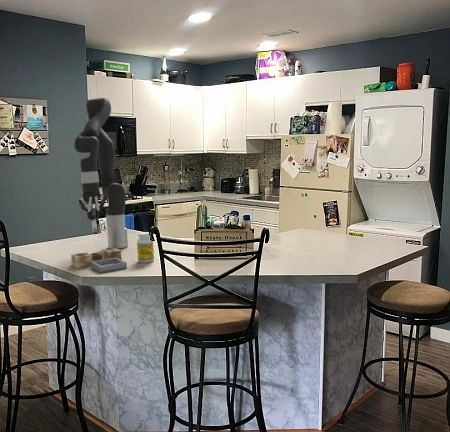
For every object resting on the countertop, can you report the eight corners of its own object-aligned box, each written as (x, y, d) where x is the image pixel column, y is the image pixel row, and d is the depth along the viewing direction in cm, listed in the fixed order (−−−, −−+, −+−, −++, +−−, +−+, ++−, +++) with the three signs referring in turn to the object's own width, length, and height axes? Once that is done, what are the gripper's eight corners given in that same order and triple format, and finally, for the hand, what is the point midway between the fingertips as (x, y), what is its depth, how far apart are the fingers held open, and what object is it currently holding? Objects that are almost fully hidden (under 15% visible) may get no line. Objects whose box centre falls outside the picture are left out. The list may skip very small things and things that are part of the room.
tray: (116, 263, 225) (116, 257, 225) (126, 268, 216) (126, 262, 215) (91, 267, 219) (91, 261, 219) (100, 272, 210) (100, 266, 209)
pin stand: (99, 258, 235) (98, 252, 234) (102, 260, 231) (102, 254, 230) (88, 260, 232) (88, 254, 232) (92, 262, 228) (91, 256, 228)
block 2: (116, 258, 234) (115, 248, 233) (121, 261, 229) (120, 250, 228) (104, 260, 231) (103, 250, 230) (109, 263, 226) (108, 252, 225)
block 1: (87, 262, 228) (86, 252, 227) (92, 265, 222) (91, 254, 221) (71, 265, 224) (70, 254, 223) (76, 268, 218) (75, 257, 217)
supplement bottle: (153, 258, 232) (151, 231, 230) (154, 261, 225) (153, 233, 223) (137, 259, 231) (136, 232, 229) (138, 263, 224) (136, 235, 222)
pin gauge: (96, 231, 232) (94, 208, 230) (99, 232, 229) (97, 209, 227) (91, 232, 230) (88, 209, 228) (93, 233, 228) (91, 209, 226)
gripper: (102, 179, 233) (105, 216, 235) (72, 182, 225) (76, 220, 228) (108, 180, 226) (111, 218, 229) (77, 183, 219) (81, 222, 222)
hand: (93, 219), depth 228 cm, fingers closed on pin gauge, 2 cm apart
